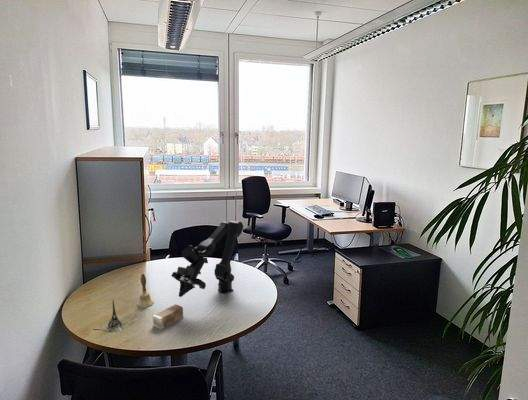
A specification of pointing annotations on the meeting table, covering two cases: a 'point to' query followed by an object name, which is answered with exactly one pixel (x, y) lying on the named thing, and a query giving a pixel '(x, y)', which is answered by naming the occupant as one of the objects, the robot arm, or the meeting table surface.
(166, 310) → the wooden block
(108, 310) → the meeting table surface
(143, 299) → the hand bell
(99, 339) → the meeting table surface
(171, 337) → the meeting table surface
